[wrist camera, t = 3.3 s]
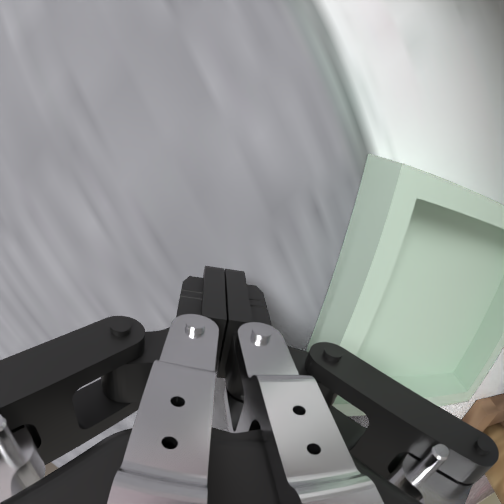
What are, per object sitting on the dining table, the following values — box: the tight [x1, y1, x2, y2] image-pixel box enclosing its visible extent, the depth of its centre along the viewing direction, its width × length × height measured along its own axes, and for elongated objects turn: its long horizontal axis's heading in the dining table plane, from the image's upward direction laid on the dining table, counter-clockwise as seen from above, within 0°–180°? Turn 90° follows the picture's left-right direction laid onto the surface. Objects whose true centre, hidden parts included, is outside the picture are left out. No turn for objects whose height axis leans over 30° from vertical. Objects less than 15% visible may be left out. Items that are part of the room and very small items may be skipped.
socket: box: [462, 394, 504, 432], centre depth 22 cm, size 9×9×2 cm
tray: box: [306, 154, 504, 416], centre depth 14 cm, size 12×12×3 cm
